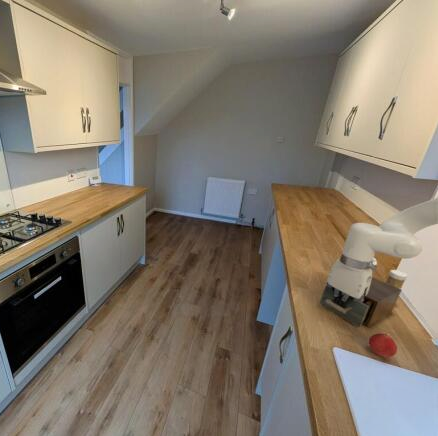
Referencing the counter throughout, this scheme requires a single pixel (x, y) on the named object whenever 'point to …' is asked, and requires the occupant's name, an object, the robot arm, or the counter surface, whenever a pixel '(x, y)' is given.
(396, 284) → the sprinkles bottle
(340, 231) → the counter surface
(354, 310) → the drawer
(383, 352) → the onion
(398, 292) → the cabinet
